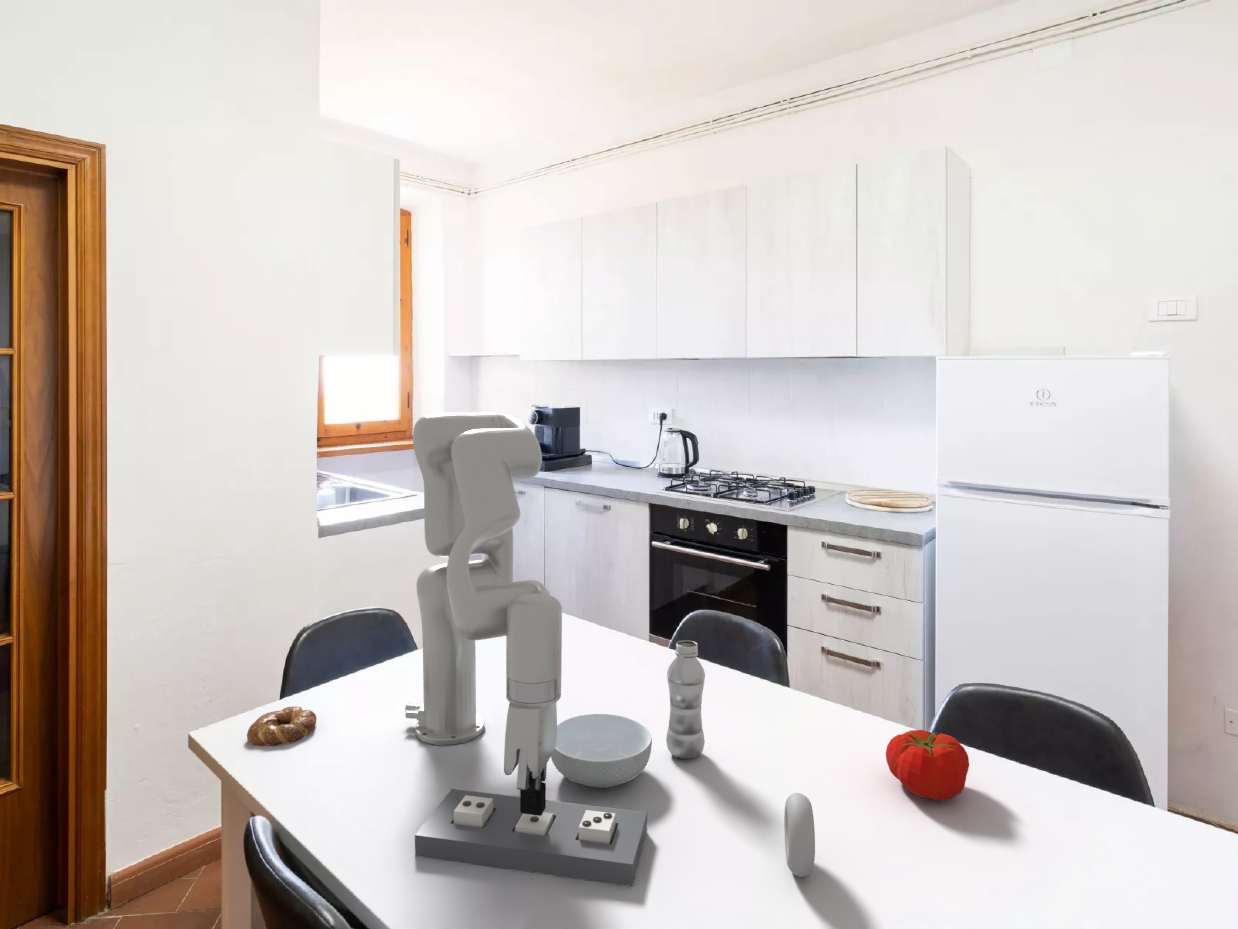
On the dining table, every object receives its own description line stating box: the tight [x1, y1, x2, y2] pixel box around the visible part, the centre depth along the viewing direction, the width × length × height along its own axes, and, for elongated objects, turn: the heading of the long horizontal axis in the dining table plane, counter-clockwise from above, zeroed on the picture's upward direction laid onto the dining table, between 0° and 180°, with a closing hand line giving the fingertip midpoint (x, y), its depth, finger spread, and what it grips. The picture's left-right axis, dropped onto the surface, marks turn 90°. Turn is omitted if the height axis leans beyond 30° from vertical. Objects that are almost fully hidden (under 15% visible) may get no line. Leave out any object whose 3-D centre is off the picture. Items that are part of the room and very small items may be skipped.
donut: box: [783, 792, 816, 878], centre depth 97 cm, size 10×4×10 cm, turn 172°
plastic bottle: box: [665, 640, 706, 760], centre depth 127 cm, size 6×7×20 cm
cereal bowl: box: [550, 713, 653, 789], centre depth 120 cm, size 17×17×7 cm
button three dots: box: [579, 810, 615, 844], centre depth 100 cm, size 4×4×3 cm
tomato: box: [885, 729, 970, 802], centre depth 117 cm, size 14×13×9 cm
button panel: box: [414, 788, 648, 887], centre depth 102 cm, size 30×12×3 cm, turn 79°
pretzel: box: [246, 705, 317, 747], centre depth 134 cm, size 12×11×4 cm
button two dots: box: [454, 795, 493, 828], centre depth 103 cm, size 4×4×2 cm
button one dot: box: [515, 812, 553, 836], centre depth 102 cm, size 4×4×3 cm
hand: (532, 811), depth 102 cm, fingers closed
